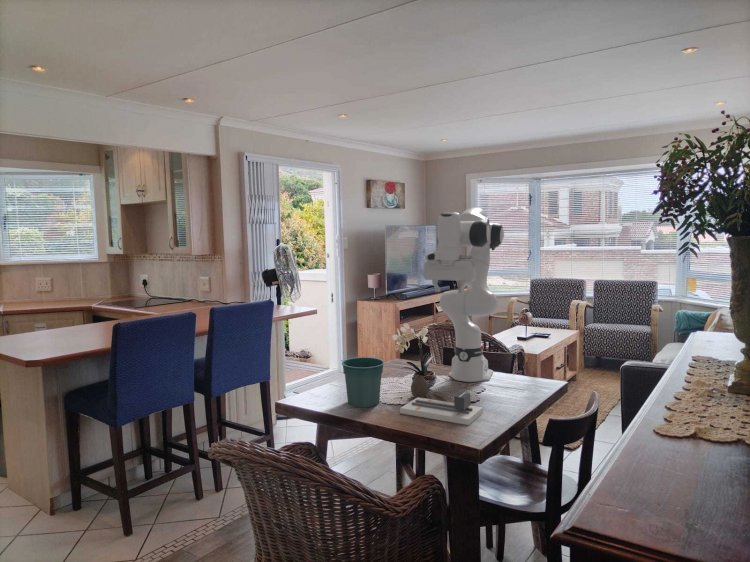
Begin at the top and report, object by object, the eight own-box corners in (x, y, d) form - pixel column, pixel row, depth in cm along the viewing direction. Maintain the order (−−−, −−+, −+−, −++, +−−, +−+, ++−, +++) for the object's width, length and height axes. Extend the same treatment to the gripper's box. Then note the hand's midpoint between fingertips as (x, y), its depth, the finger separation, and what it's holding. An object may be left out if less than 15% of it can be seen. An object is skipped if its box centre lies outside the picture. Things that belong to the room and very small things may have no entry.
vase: (427, 400, 208) (427, 378, 207) (409, 399, 209) (409, 377, 209) (429, 395, 215) (429, 373, 214) (412, 394, 216) (411, 373, 215)
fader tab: (460, 406, 193) (460, 391, 192) (470, 408, 191) (470, 393, 190) (454, 411, 187) (454, 396, 187) (464, 413, 186) (464, 397, 185)
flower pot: (392, 399, 210) (391, 359, 208) (372, 412, 195) (371, 369, 194) (356, 394, 218) (355, 355, 216) (334, 406, 203) (333, 364, 202)
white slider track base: (417, 402, 206) (417, 395, 206) (482, 412, 193) (482, 405, 192) (400, 413, 194) (400, 405, 194) (468, 425, 181) (468, 417, 180)
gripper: (478, 255, 198) (478, 292, 199) (428, 255, 208) (428, 290, 209) (472, 255, 193) (472, 294, 194) (421, 255, 203) (421, 292, 204)
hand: (449, 292), depth 202 cm, fingers open, 8 cm apart
